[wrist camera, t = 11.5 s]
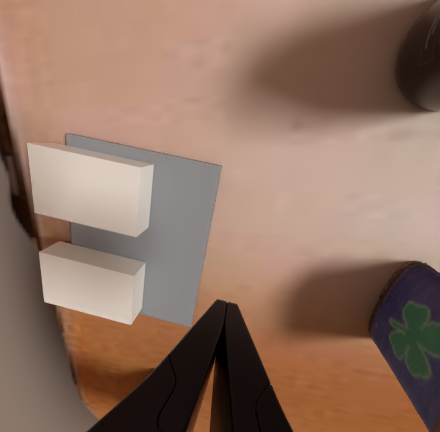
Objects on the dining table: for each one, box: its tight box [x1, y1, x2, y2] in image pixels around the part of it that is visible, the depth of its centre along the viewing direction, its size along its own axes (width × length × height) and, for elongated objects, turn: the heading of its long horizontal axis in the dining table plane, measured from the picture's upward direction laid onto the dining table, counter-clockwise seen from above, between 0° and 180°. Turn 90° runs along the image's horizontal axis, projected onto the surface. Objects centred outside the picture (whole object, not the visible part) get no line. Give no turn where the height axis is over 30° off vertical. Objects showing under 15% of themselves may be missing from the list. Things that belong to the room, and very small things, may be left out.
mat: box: [66, 133, 222, 327], centre depth 22 cm, size 18×14×1 cm
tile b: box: [27, 142, 154, 237], centre depth 19 cm, size 6×2×10 cm
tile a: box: [39, 241, 146, 325], centre depth 23 cm, size 6×2×10 cm
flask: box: [369, 261, 440, 432], centre depth 16 cm, size 9×3×11 cm, turn 169°
